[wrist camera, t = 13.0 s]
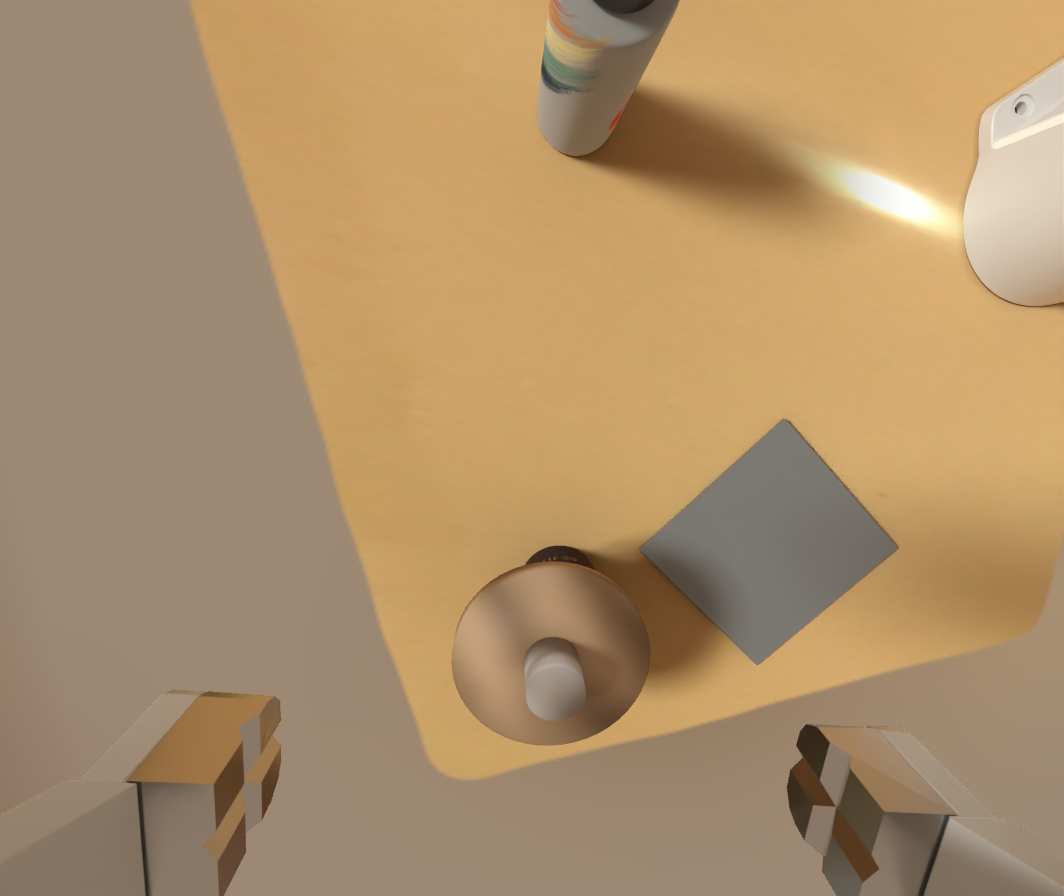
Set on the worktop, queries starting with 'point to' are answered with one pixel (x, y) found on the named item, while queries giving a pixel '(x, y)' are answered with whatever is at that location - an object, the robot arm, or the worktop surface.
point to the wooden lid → (550, 653)
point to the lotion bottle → (594, 66)
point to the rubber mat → (769, 543)
